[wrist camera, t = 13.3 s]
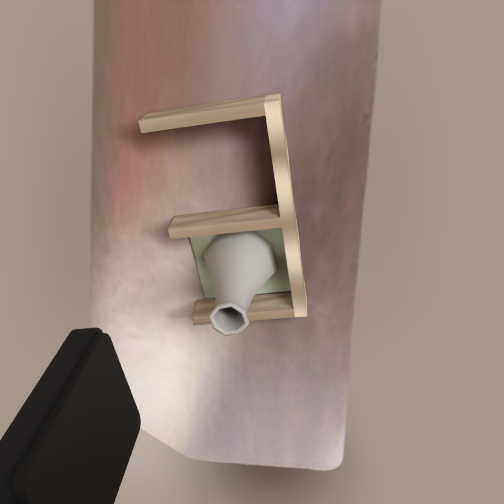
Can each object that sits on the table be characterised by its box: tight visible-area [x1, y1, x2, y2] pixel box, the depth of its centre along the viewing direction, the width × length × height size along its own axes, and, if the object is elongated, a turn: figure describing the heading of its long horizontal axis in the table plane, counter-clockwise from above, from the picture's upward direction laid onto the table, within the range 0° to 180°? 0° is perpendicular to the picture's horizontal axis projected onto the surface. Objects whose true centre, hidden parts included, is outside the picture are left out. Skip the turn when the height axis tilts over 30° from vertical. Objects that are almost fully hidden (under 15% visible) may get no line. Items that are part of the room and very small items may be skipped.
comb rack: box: [138, 93, 307, 325], centre depth 44 cm, size 21×12×3 cm, turn 9°
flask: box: [203, 231, 278, 336], centre depth 44 cm, size 7×7×10 cm
